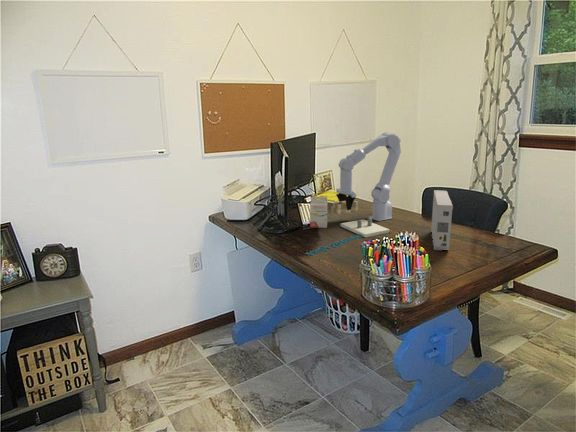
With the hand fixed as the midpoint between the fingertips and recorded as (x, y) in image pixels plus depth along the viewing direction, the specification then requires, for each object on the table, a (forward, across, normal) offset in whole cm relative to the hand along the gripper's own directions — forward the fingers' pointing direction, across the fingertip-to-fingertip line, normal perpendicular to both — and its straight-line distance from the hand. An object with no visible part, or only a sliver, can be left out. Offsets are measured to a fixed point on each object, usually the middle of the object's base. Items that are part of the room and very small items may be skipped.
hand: (345, 208), depth 214 cm
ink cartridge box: (+7, 0, -16) cm, 18 cm away
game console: (+7, +47, +17) cm, 50 cm away
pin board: (+7, +16, 0) cm, 17 cm away
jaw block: (+2, 0, 0) cm, 2 cm away
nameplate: (+7, +27, -23) cm, 36 cm away
